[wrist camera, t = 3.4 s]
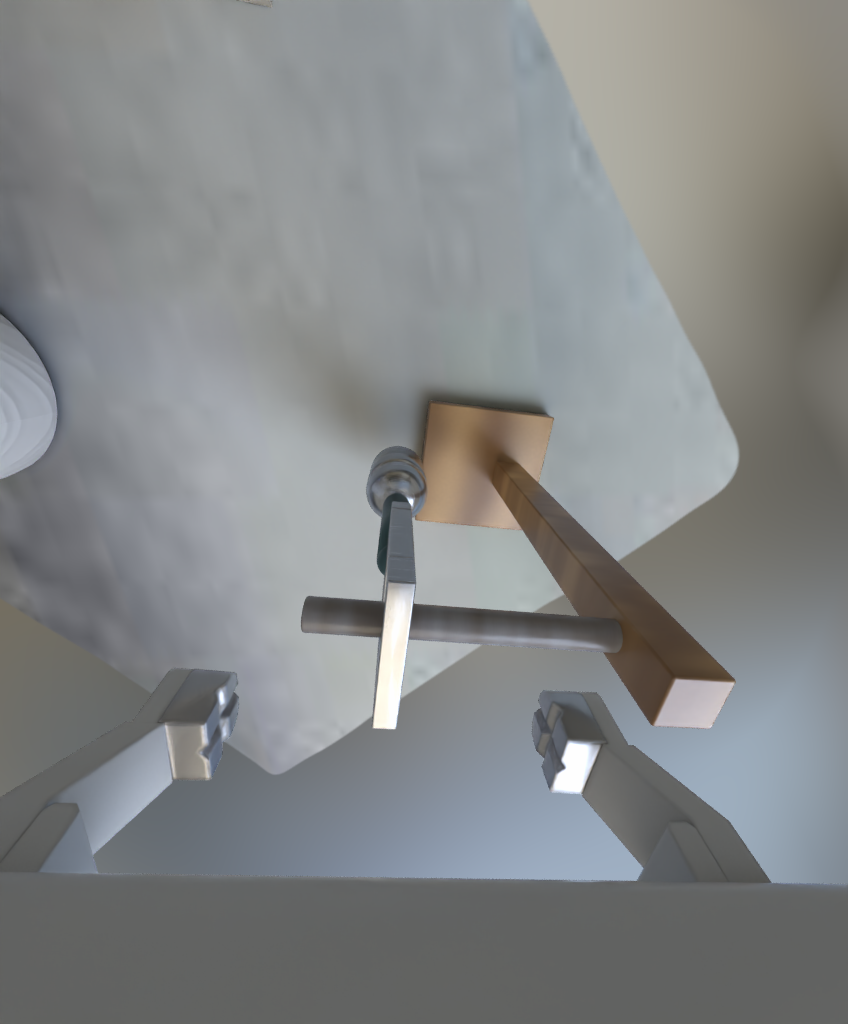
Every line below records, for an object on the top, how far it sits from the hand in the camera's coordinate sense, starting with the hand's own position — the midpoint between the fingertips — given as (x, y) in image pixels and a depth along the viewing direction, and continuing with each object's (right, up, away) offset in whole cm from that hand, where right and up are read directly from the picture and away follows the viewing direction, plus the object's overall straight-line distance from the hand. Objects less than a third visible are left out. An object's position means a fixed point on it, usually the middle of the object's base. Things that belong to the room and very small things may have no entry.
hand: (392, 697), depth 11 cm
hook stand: (+3, +9, +24) cm, 26 cm away
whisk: (-1, +9, +21) cm, 23 cm away
